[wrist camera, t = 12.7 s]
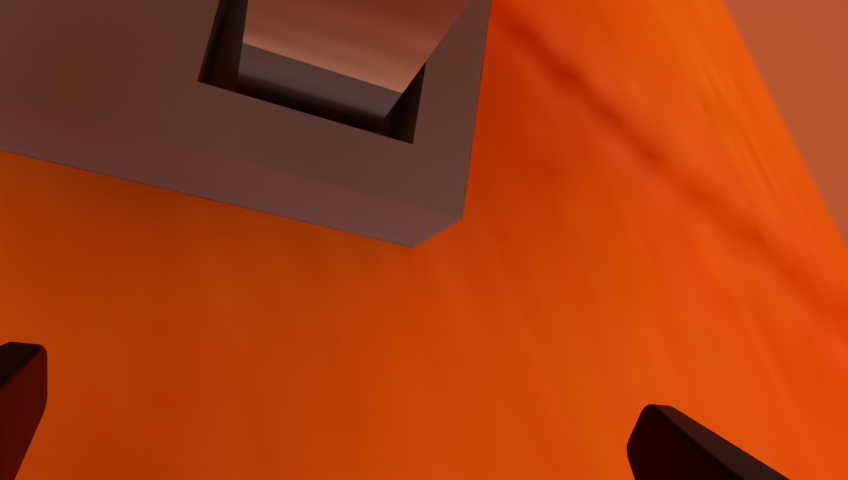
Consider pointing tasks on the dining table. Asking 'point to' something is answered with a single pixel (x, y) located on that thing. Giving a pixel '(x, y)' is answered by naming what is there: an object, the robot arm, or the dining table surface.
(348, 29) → the rail post
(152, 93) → the base
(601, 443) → the dining table surface
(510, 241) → the dining table surface
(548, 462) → the dining table surface
